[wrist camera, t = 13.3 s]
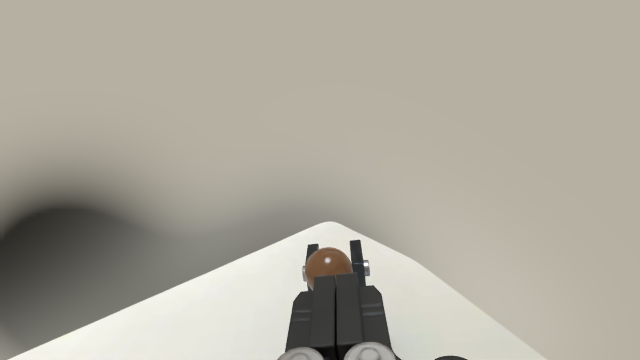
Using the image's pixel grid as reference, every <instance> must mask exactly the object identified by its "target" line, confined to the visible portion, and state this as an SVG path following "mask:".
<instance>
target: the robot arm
mask: <svg viewBox="0 0 640 360" xmlns="http://www.w3.org/2000/svg"><path fill="white" fill-rule="evenodd" d="M336 277H337V283H336ZM278 360H401V359H400V358H398V357H397V356H396V355H395V353H394V352H393V350H392V347H391V343H390V338H389V332H388V327H387V322H386V317H385V311H384V306H383V301H382V295H381V293H380V292H379V291H378V290H377V289H376V288H375V287H374V285H372V286H361V287H358V278H357V272H355V273H344V274H337V276H335V274H334V275H323V276H315V277H314V287H313V291H305V292H300V294H299V295H298V296H297V298H296V299H295V300H294V301H293V307H292V314H291V319H290V325H289V331H288V337H287V343H286V349H285V353H284V354H282V355H281V356H280V357H279V358H278ZM435 360H467V359H465V358H462V357H458V356H443V357H439V358H437V359H435Z"/></svg>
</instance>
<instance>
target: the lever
mask: <svg viewBox="0 0 640 360" xmlns="http://www.w3.org/2000/svg"><path fill="white" fill-rule="evenodd" d="M344 273H353V269H352V264H351V262H350V260H349V258H348V257H347V256H346V255H345V254H344V253H343V252H342V251H340V250H338V249H336V248H331V247H327V248H322V249H319V250H317V251H315V252H314V253H313V254H312V255H311V256H310V257H309V258H308V260H307V262H306V265H305V279H306V282H307V284H308V286H309V287H310V288H311V289H312V290H313V287H314V277H315V276H323V275H334V274H335V276H337V274H344ZM336 283H337V277H336Z"/></svg>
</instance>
